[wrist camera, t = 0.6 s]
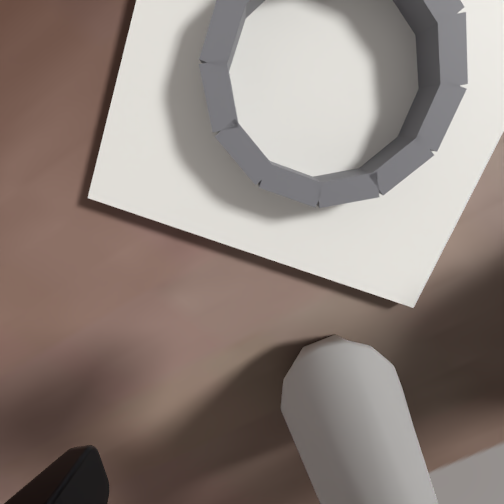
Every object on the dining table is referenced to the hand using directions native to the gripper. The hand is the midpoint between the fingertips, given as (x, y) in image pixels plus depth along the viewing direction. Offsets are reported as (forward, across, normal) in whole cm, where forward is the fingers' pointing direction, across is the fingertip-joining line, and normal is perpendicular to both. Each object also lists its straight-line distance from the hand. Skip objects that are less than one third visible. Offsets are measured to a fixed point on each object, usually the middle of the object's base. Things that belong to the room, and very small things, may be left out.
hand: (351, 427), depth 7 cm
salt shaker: (+14, -1, +8) cm, 16 cm away
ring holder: (+13, -2, -6) cm, 15 cm away
